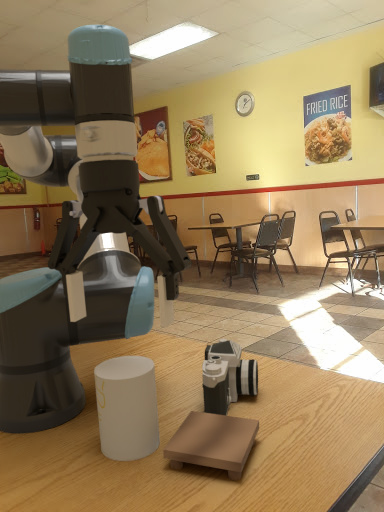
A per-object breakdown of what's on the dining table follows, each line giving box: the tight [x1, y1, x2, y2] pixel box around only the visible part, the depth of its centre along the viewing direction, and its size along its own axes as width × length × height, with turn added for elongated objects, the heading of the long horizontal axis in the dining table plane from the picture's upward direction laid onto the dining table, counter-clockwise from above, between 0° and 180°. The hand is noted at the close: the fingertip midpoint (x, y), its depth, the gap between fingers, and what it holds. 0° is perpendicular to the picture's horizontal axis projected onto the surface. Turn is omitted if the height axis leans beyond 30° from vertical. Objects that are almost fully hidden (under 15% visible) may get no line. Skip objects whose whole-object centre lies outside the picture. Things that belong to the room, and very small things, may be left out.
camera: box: [201, 338, 259, 416], centre depth 73 cm, size 16×9×10 cm, turn 168°
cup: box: [93, 355, 161, 462], centre depth 60 cm, size 8×8×12 cm
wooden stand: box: [162, 410, 260, 481], centre depth 58 cm, size 10×10×3 cm
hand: (121, 321), depth 59 cm, fingers open, 13 cm apart
